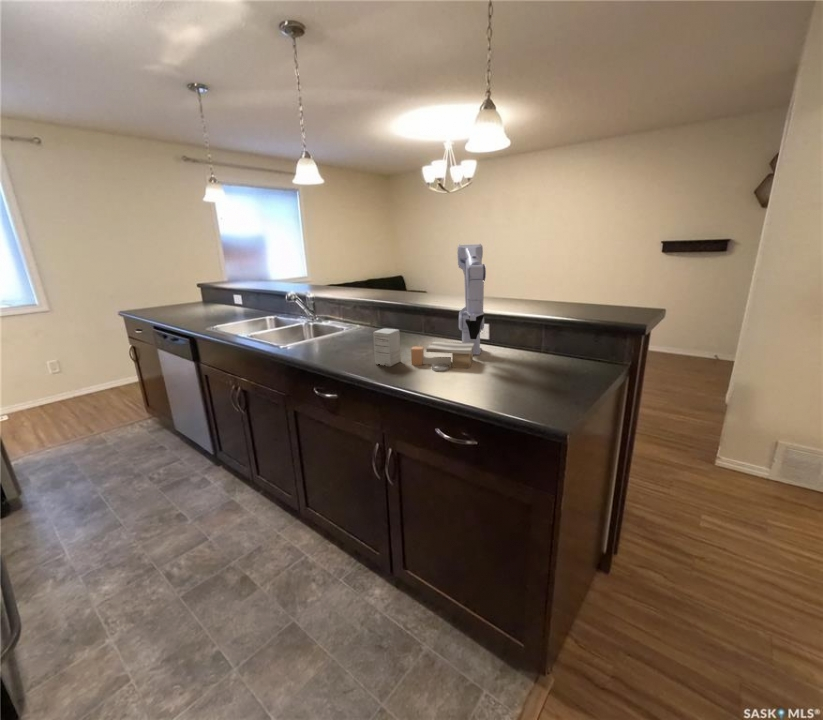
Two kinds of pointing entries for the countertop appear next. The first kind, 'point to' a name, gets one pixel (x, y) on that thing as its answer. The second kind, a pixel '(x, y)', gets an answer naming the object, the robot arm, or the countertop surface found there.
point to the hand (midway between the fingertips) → (474, 336)
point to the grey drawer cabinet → (387, 346)
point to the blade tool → (420, 359)
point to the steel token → (440, 367)
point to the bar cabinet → (455, 352)
